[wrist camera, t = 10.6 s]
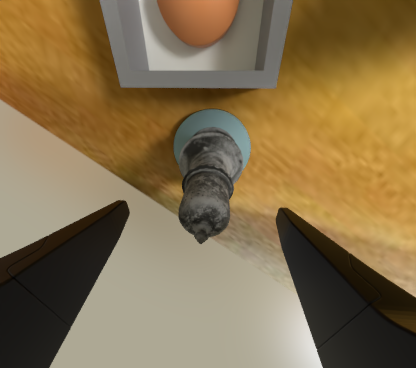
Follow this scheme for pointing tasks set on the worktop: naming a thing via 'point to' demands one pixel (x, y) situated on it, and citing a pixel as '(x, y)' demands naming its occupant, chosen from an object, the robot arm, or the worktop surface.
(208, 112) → the slate coaster
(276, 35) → the grey square tray
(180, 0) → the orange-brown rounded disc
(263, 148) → the worktop surface
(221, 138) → the salt shaker
